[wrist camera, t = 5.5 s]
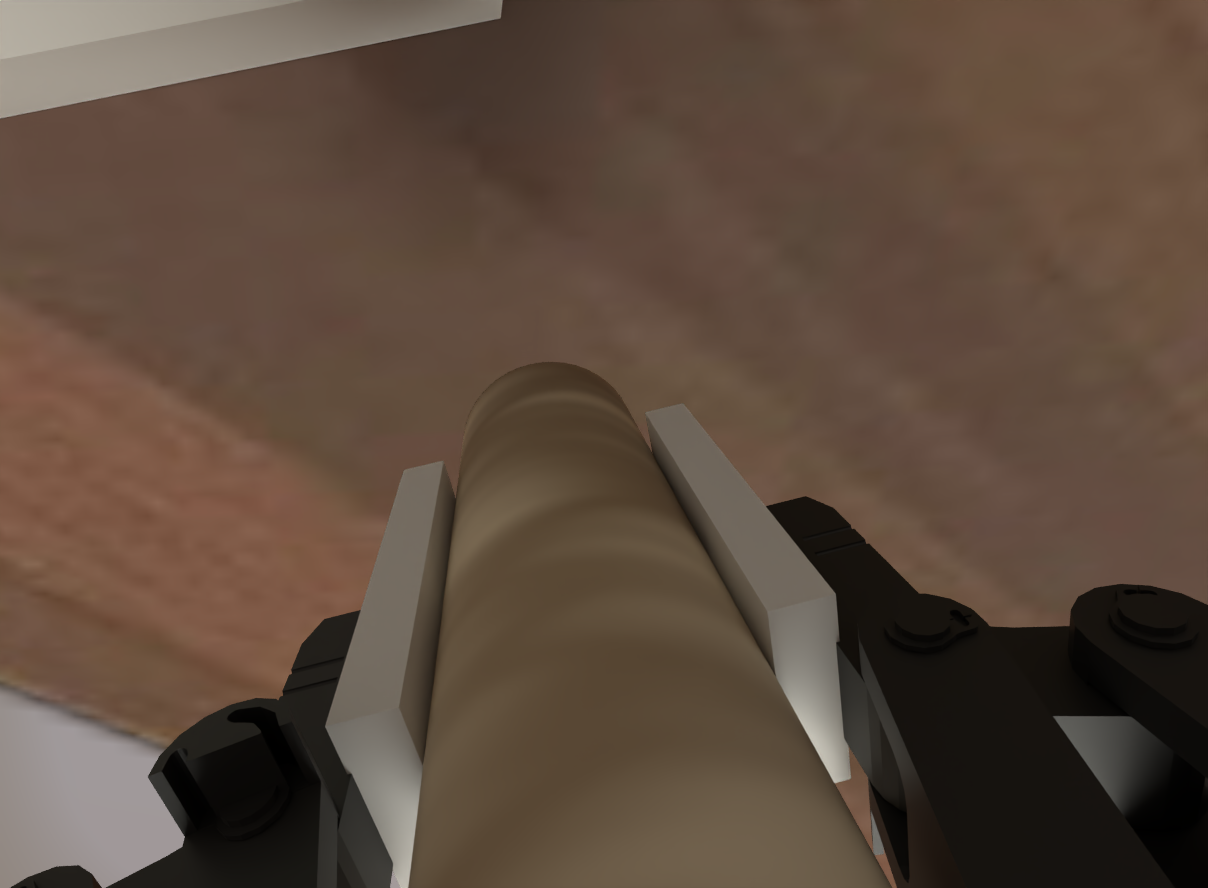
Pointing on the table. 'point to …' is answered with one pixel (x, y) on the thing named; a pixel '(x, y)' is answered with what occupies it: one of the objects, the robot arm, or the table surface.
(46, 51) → the open box
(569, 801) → the peg
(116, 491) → the table surface
